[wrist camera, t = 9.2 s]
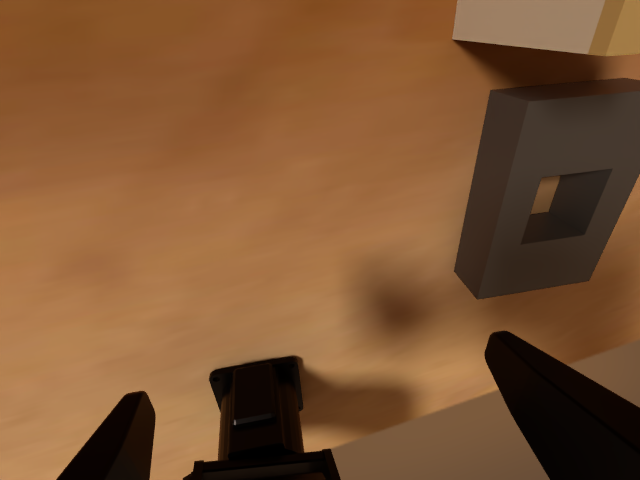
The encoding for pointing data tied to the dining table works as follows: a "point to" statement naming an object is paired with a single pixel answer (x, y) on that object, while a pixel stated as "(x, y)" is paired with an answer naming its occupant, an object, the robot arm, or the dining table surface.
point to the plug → (552, 24)
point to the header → (543, 161)
